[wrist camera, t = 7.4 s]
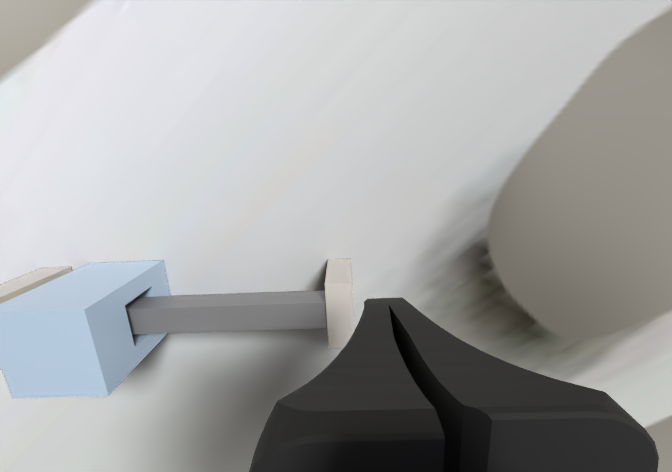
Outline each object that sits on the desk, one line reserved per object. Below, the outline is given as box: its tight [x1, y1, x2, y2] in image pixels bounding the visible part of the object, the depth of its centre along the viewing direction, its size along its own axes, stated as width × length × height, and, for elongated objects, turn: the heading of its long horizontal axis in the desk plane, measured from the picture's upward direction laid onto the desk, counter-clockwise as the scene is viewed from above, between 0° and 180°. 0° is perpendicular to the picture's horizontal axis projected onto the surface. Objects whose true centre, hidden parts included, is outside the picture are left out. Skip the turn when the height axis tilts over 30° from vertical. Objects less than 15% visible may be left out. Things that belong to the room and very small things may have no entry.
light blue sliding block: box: [0, 260, 170, 398], centre depth 19 cm, size 5×5×7 cm
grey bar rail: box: [0, 258, 354, 370], centre depth 20 cm, size 21×4×5 cm, turn 93°
